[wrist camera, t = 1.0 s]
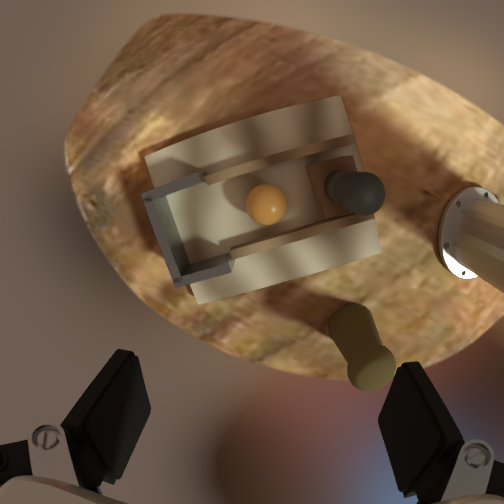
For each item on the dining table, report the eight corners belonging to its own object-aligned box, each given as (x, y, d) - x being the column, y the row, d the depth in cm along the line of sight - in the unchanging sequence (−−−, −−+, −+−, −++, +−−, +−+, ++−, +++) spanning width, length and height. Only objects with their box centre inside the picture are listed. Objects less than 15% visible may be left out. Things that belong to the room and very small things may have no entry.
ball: (279, 178, 30) (281, 180, 26) (290, 215, 31) (293, 222, 27) (241, 189, 30) (238, 192, 26) (253, 225, 31) (252, 234, 27)
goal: (205, 171, 30) (197, 172, 26) (235, 259, 32) (231, 272, 28) (155, 190, 30) (140, 194, 27) (185, 274, 33) (176, 287, 29)
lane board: (337, 97, 28) (343, 91, 25) (376, 249, 33) (386, 256, 30) (149, 156, 31) (138, 156, 28) (200, 299, 35) (195, 310, 33)
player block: (342, 156, 28) (381, 152, 18) (354, 202, 30) (397, 221, 19) (305, 165, 29) (328, 165, 18) (319, 211, 30) (346, 236, 20)
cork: (319, 323, 36) (336, 379, 25) (358, 294, 34) (389, 343, 24) (343, 351, 37) (363, 407, 26) (379, 325, 36) (411, 376, 25)
